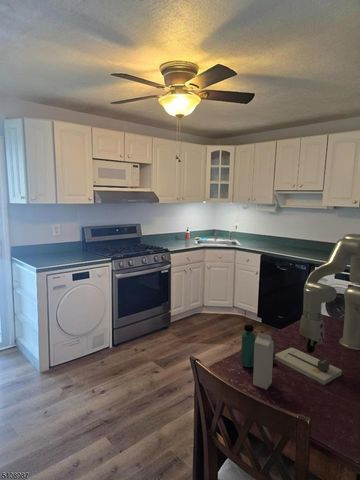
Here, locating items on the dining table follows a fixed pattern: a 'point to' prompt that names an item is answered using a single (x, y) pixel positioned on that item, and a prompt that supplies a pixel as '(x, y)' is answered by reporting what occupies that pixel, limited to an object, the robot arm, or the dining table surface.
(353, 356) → the dining table surface
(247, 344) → the beverage bottle
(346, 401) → the dining table surface
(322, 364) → the fader
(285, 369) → the dining table surface
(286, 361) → the slider board
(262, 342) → the milk
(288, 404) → the dining table surface
